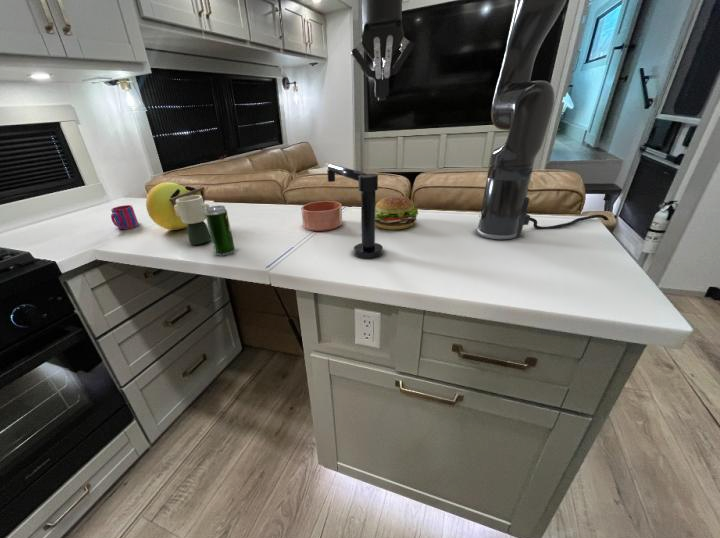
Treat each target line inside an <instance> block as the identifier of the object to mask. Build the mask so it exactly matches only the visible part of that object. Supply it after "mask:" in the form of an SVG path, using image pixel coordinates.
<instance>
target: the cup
mask: <svg viewBox="0 0 720 538" xmlns="http://www.w3.org/2000/svg"><path fill="white" fill-rule="evenodd" d="M110 211H111V214H110V218H111V222H112V223H113V225H114V226H115V227H117V229H119V230H128V229H129V230H130V229H133V228H136V227H138V226H139V225H140V223H139V221H138V219H137V215H136V213H135V210H134V207H133V205H131V204H125V205H119V206H115V207H112V208H111V209H110Z"/></svg>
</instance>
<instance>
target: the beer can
mask: <svg viewBox="0 0 720 538" xmlns="http://www.w3.org/2000/svg"><path fill="white" fill-rule="evenodd" d="M205 208H206V207H205ZM227 210H228V209H226V206H225V205H220V204H219V205H211V206H209V207H208V208H206V209H205V211H206V212H205V215H206V219H205V220H206V224H207V228H208V230H209V233H210V236H211V239H210V240H211V243H212V246H213V250H214V253H215V254H216V256H219V257H224V256H229V255H232V254H234V253H235V249H236V246H235V243H234V238H233V233H232V228H231V225H230V220H229V219H230V218H229V215H228V211H227Z"/></svg>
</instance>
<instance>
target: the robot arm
mask: <svg viewBox="0 0 720 538" xmlns="http://www.w3.org/2000/svg"><path fill="white" fill-rule="evenodd" d="M567 1H568V0H514V2H513V8H512V15H511V21H510V26H509V29H508V35H507V40H506V46H505V50H504V55H503V59H502V63H501V68H500V72H499V76H498V79H497V82H496V86H495V89H494V94H493V98H492V103H491V109H490V114H491V115H490V117H491V118H490V119H491V122H492V124H493V126H494V127H495V128H496V129H498V130H501V131H508V135H507V137H506V141H505V143H503V145H502V146H500V147H497V148H495V149H493V151H492V152H491V153H490V158H489V163H488V169H487V175H486V181H485V187H484V192H483V198H482V204H481V211H479V212H478V213H479V214H478V217H479V221H478V226H477V229H476V233H477V235H479V236H480V237H483V238H486V239H490V240H499V241H500V240H501V241H503V240H511V239H514V238H516V237H521V235H522V231H523V227H524V226H528V225H529V224H530V222H531V223H533V228H534V229H536V230H553V229H560V228H564V227H570V226H572V225H574V224H576V223H579V222H581V221H586V220H590V219H596V218H597V219H599V218H600V219H603V220H604V221H609V220H610V219H609V218H608V217H607V216H606V215H604V214H591V215H588V216H583V217H578V218H576V219H573V220H572V221H570V222H565V223H560V224H555V225H550V226H549V225H548V226H539V225H538V221H537V219H535V218H533V217H531V215H530V214H528V213H527V212H528V208H529V204H530V198H529V197H528V196H527V195H528V190H529V186H530V182H531V179H532V173H533V169H534V164H535V161H536V158H537V156H538V154H539V152H540V151H541V149H542V147H543V145H544V142H545V138H546V135H547V131H548V128H549V125H550V122H551V118H552V115H553V110H554V105H555V96H556V95H555V90H554V87H553V85H552V83H550V82H549V81H546V80H531V78H532V73H533V69H534V64H535V61H536V58H537V56H538V53H539V51H540V48H541V46H542V45H543V43H544V41H545V39H546V37H547V35H548V34H549V33H550V31H551V29H552V27H554V25H555V23H556V22H557V20H558V18H559V16H560V14H561V12H562V11H563V10H564V9H563V8H564V7H565V5H566V3H567ZM361 8H362V9H361V10H362V11H361V12H362V13H361V14H362V33H361V36H360V42H359V43H358V44H357V45H356V46H355V47H354V48H353V49H352V50H351V52H350V55H351V57H352V58H353V60H354V61H355V62H356V64H357V65H358V67H359V68H360V69H361V71H362V72H363V74H364V75H365V77H367V78H370V79H373V81H374V97H375V98H377V101H386V100H387V97H388V96H389V94H390V78H391V77H392V76H394V75H397V74H398V72H400V69H401V68H402V66H403V65H404V63H405V62H406V60H407V58H408V56H409V55H410V53H411V52H412V50H413V49H414V47H415V43H414V42H413V41H411V40H408V39H407V38H406V37H405V31H404V29H403V23H402V21H403V0H361ZM399 47H400V48H399ZM398 48H399V51H400V52H401V53H400V55H399V56H398V58H397V59H396V61H395V62H394V64H393V66H391V64H392V57H393V56H394V55H395V54H396V51H397V50H398ZM364 51H365V52H366V54H367V55H368V57H369V58H370V59H371V60H372V66H373V69H372V68H371V67H370V65H369V64H368V63H367V61H366V59H365V58H364V55H365V52H364Z"/></svg>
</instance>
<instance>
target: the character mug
mask: <svg viewBox="0 0 720 538" xmlns="http://www.w3.org/2000/svg"><path fill="white" fill-rule="evenodd" d="M176 202H177V205H174V209H175V213H176V215H177V216H181V219H182V222H183V223H186V224H188V225H187V227H186V228H187V229H186V230H187V237H188V242H189V244H192V245H201V244H205V243H207V242H209V241H211V240H212V239H211V235H210V231H209V227H208V224H207V223H206V222H205V220H207V219H206V215H205V212H206V211H205V209H206V208H208V207H210V204H208V203H205V202H203V198H202V196H200V195H191V196H185V197H181V198H178V199H177V200H176ZM178 209H179V210H178Z"/></svg>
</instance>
